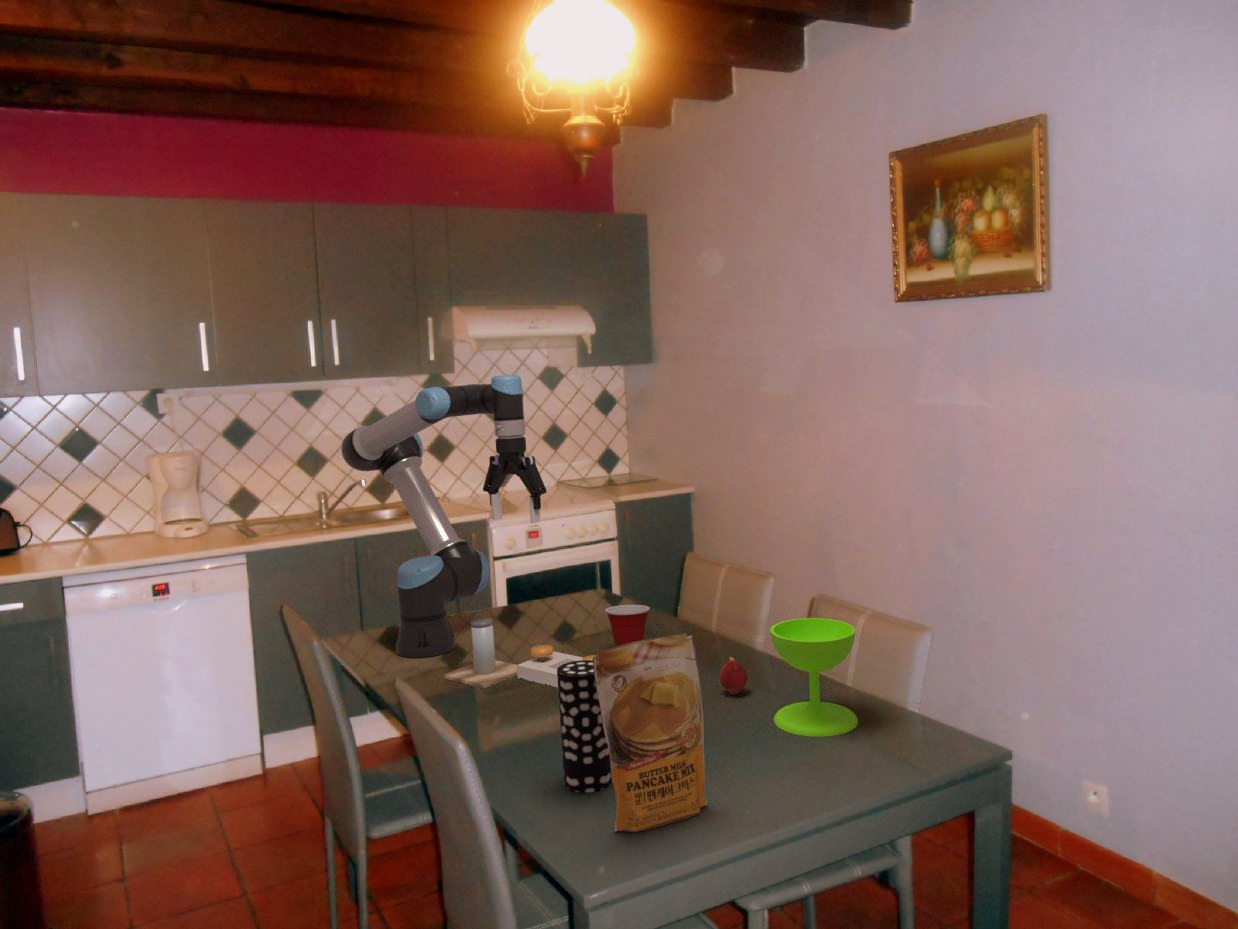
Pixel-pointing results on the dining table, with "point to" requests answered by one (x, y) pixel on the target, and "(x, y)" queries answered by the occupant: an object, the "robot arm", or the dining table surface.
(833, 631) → the wineglass
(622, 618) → the plastic cup
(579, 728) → the white-spotted black cylinder
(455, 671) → the board
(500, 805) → the dining table surface
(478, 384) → the robot arm
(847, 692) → the dining table surface
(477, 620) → the cylinder
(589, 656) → the plunger right
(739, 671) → the onion
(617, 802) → the pancake mix bag
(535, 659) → the block
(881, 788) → the dining table surface
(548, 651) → the plunger left
